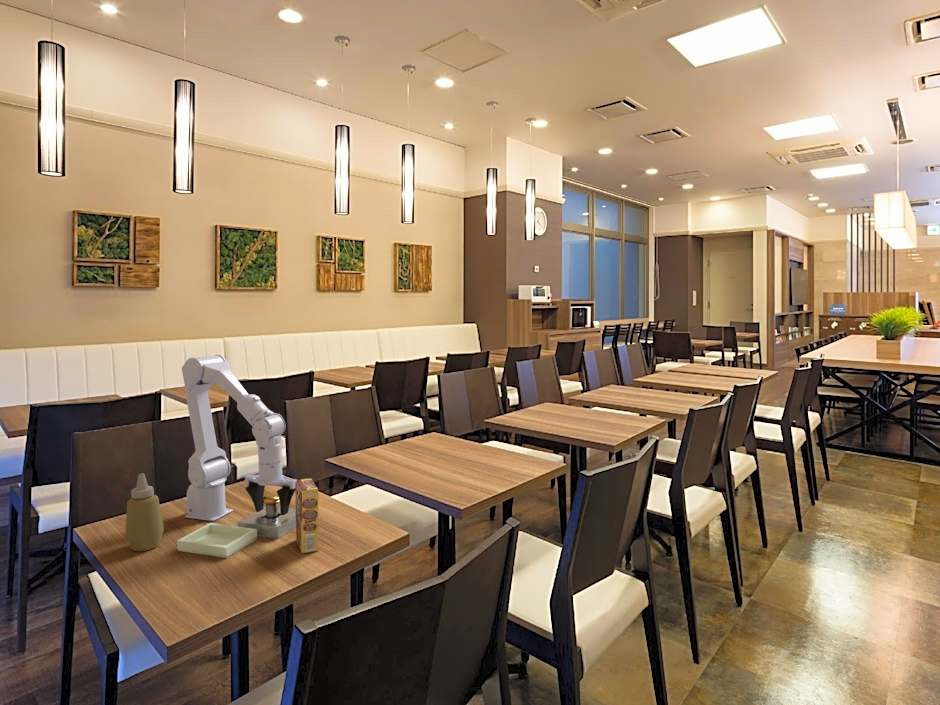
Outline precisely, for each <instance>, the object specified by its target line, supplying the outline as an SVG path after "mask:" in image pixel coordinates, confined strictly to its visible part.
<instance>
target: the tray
mask: <svg viewBox="0 0 940 705" xmlns="http://www.w3.org/2000/svg"><path fill="white" fill-rule="evenodd" d="M256 540H258V536H257V529H252V528H245V527H238V525H231V524H230V525H229V524H221V523H216V522H215V523H213V522H209V523H207V524H205V525H204V526H201V527H199V528H198V529H196V530H194V531H192V532H189V533H188V534H186V535H185V536H183V537H181V538H179V539H177V540H176V543H177V545H176V546H177V551H179V552H184V553H185V552H186V553H192V554H198V555H203V556H204V555H205V556H211V557H216V558H222V559H228V558H230V557H231V556H233V555H234V554H236V553H238V552H239V551H241V550H242V549H244V548H245V547H247V546H248V545H250V544H251V543H254V542H255V541H256Z"/></svg>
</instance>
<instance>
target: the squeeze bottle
mask: <svg viewBox="0 0 940 705" xmlns="http://www.w3.org/2000/svg"><path fill="white" fill-rule="evenodd" d="M154 489H155V488H154V487H153V486H152V485H149V484H148V481H147V478H146V475H145V472H144V473H143V472H142V473H139V474H138V476H137V481H136V487H134V488H133V489H131V490H130V493H131V494H130V495H131V498H129V499H128V500H127V502H126V516H125V517H126V520H125V534H124V535H125V538H126V540H127V541H128V544H129V546H130V549H131V550H132V551H134V552H145V551H148V550H153V549H155V548H156V547H158V546H159V545H160V544H161V540H162V538H163V537H162V536H163V534H164V530H165V528H164V522H163V521H164V520H163V516H162V510H161V505H160V499H159V496H158V495H156V494H155V490H154Z"/></svg>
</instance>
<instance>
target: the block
mask: <svg viewBox="0 0 940 705" xmlns="http://www.w3.org/2000/svg"><path fill="white" fill-rule="evenodd" d="M237 526H238V527H245V528H252V529H257V537H261V538H262V537H264V538H270V539H278V540H279V539H281V538H282V537H284V536H285V535H286V534H288V533H289V532H292V530H294V529H296V508H293V507H289V510H288V513H287V514H285V515H281V511H280V506H278V517H277V518H276V519H268V518H266V505H264V506H263V510H261V511H259V512H256V511H254V512H252V513H250V514H249V515H247V516H245V517H244V518H242V519H239V520H238V521H237Z"/></svg>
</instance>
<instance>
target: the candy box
mask: <svg viewBox="0 0 940 705" xmlns="http://www.w3.org/2000/svg"><path fill="white" fill-rule="evenodd" d="M296 480H297V481H295V492H294V494H295V509H296V527H295V539H296V542H297V545H298V548H299V549H300V552H301V554H308V553H312V552H313V553H314V552H318V551H319V550H320V549H319V547H320V545H319V543H320V542H319V539H320V538H319V536H320V535H319V528H320V527H319V526H320V525H319V488H318V486H317V485H316V484H315V481H314V480H313V479H312V478H302V479H296Z"/></svg>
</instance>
